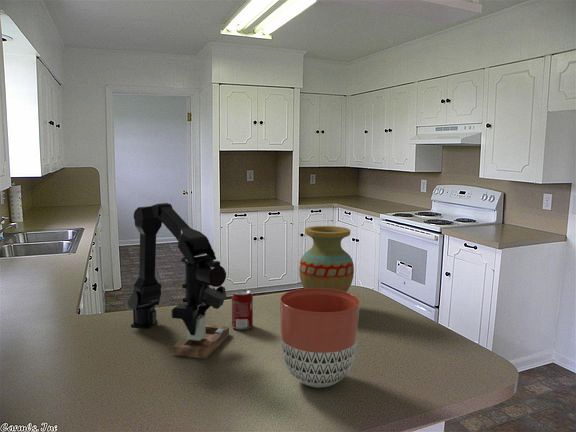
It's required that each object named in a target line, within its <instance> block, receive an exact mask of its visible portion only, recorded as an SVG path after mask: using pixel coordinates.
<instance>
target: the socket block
mask: <svg viewBox="0 0 576 432" xmlns="http://www.w3.org/2000/svg"><path fill="white" fill-rule="evenodd" d="M205 329H206V335H205V336H204V337H203V338H202V339H201V340H200V341H198V340H189V339H187V334H186V335H184V336H183V337H182V338H181V339H180V340H179V341H178V342H177V343H175V345H173V347H172V352H173V353H172V355H173V356H178V357H188V358H196V359H204V360H206V359H208V358H209V357H210V356H211V354H213V353H214V351H215V350H217V348H218V347H219V346H220V345H221V344H222V343H223V342H224V340H225V339H227V337H229V335H230V326H224V325H214V324H207V323H205Z"/></svg>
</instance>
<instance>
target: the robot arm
mask: <svg viewBox="0 0 576 432" xmlns="http://www.w3.org/2000/svg"><path fill="white" fill-rule="evenodd" d="M133 220H134V226H135V228H136V230H137V231H138V233H139V267H138V268H139V271H138V274H139V275H138V279H137V280H136V281H135V283H134V284H133V289H132V290H133V291H132V294H131V295H130V296H129V298H128V300H127V304H128V308H129V309H131V310H132V315H133V316H132V318H133V320H132V321H133V323H130V327H132V328H133V327H135V328H143V329H149V328H150V327H151V328H152V327H153V326H154V325H155V324H156V323H158V322H159V321H158V319H157V310H156V306H158V305H159V306H160V301H161V296H162V284H161V283H160V282H159V281H158V280H157V279H156V260H157V259H156V258H157V256H156V255H157V254H156V253H157V234H158V232H159V230H160V229H161V228H162V224H163V225H164V226H165V228H167V230H168V231H169V232H170V233H171V234H172V235H173V236H174V237H175V239H176V240H177V248H178V250H179V251H180V252H181V254H182V255H183V257H182V258H181V259H180V262H181V263H184V281H185V282H184V283H183V284H182V286H181V287H182V289H185V291H184V293H185V294H184V295H185V296H184V297H183V298H182V303H178V304H177V305H176V306H175V307H173V309H171V315H170V316H171V318H172V319H176V320H177V319H179V320H182V322H183V323H184V325H185V327H186V330H187V329H188V331H189V332H190V334H191V335H195V331H196V323H197V318H198V317H199V316H200V315H205V316H206V313H207V311H208V310H209V309H210V308H211V307H212V309H213V308H214V309H215V310H218V309H219V308H221V306H223V304H224V302H225V299H227V293H226V288H225V287H224V286H222V285H224V283H225V281H226V279H227V272H226V270H225V268H224V267H223V266H221V262H220V260H217V257H216V254H215V251H214V249H213V247H212V245H211V243H210V240H209V238H208V236H206V235H205V234H204V233H202V232H201V231H199V230H197V229H193V228H191V226H189V225H188V224H187V222H185V220H184V219H183V218H182V217H181V216H180V214H178V213H177V212H176V210H175V209H173V205H172V204H171V203H168V202H165V203H164V202H163V203H161V202H160V203H155V204H152V205H150V206H138V207H137V208H136V209H135V210H134V212H133ZM210 286H212V287H213V288H212V287H210ZM186 303H187V304H186Z"/></svg>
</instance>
